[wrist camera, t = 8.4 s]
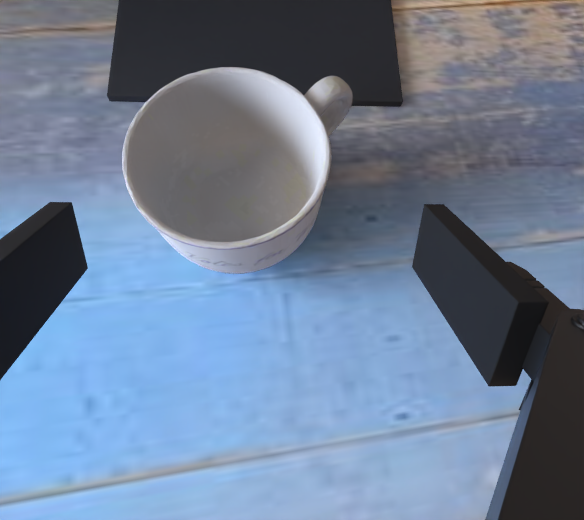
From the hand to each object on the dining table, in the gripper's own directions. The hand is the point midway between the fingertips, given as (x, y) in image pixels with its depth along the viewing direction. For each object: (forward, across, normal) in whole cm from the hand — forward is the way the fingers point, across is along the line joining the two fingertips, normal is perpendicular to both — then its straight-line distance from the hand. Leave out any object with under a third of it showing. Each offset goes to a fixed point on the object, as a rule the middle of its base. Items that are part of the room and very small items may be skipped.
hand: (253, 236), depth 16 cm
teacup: (+13, 0, -4) cm, 14 cm away
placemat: (+26, 0, +9) cm, 27 cm away
